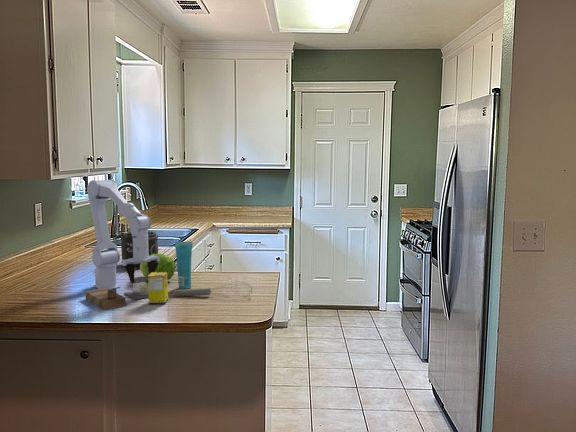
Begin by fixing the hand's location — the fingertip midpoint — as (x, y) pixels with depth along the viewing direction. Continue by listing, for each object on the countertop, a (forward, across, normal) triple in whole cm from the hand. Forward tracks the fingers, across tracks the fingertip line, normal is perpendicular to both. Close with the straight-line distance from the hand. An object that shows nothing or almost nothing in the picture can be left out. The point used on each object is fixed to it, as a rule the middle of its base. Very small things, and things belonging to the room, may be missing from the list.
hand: (141, 281), depth 203 cm
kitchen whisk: (+6, +19, -20) cm, 28 cm away
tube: (+6, +18, -1) cm, 19 cm away
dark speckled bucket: (+6, +24, +54) cm, 59 cm away
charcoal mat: (+5, 0, 0) cm, 5 cm away
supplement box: (+6, 0, -14) cm, 15 cm away
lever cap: (+5, 0, 0) cm, 5 cm away
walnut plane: (+5, -15, -1) cm, 16 cm away
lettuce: (+6, +15, +20) cm, 26 cm away
